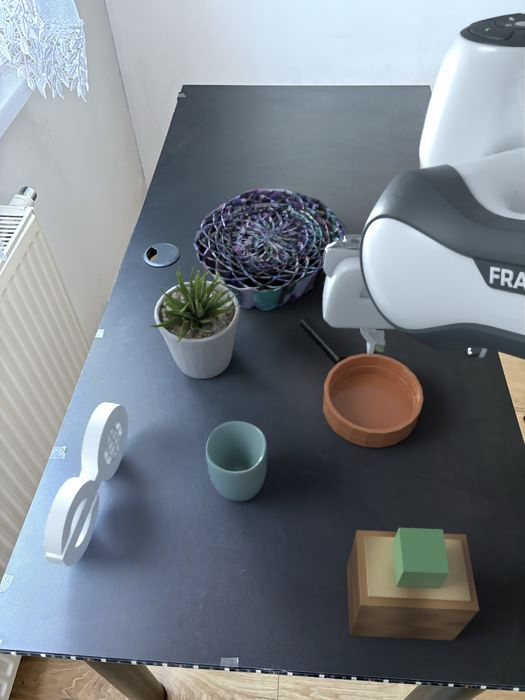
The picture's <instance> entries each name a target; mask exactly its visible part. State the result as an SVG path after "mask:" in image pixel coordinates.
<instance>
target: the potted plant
mask: <svg viewBox="0 0 525 700" xmlns="http://www.w3.org/2000/svg"><path fill="white" fill-rule="evenodd" d="M194 267H195V265H192V268H191V273H190V277H189V281H186V282H185V281H184V277H183V275H182V271H181V265H178V269H175V272H176V277H177V281H178V285H175V286H173V287H171V288H170V289H168V290H167V291H164V290H163V289H161V288H160V287H159V290H160V291H161V292H162V296H161V297H160V298H159V300H158V301H157V303H156V305H155V308H154V320H155V323H156V324H153V325H149V327H150V328H157V329H158V330H159V332H160V334H161V335H162V336H163V339H164V341H165V343H166V345H167V347H168V349H169V351H170V353H171V355H172V358H173V360H174V362H175V363H176V365H177V367H178V368H179V370H181V372H182V373H183V374H184V375H186V376H188V377H191V378H194V379H202V380H203V379H211V378H214V377H216V376H218V375H220V374H221V373H223V372H224V371H225V370H226V369H227V368H228V367H229V365H230V362H231V360H232V355H233V351H234V343H235V338H236V332H237V327H238V324H239V320H240V319H239V318H240V314H241V313H240V312H241V307H240V306H239V305H240V304H239V302H238V299H237V298H236V295H237V294H238V293H237V294H234V293H233V292H232V291H231V290H232V289H228V288H226V287H224V286H223V285H221V284H219V283H221V281H219V282H217V283H215V281H216V280H217V278H218V277H217V278H216V279H214V280H212V281H209V280H207V275H209V274H208V272H207V271H206V269H204V270H205V271H204V274H203V276H202V277H201V276H200V273H201V270H199V268H197V269H196V276H195V278H194Z"/></svg>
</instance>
